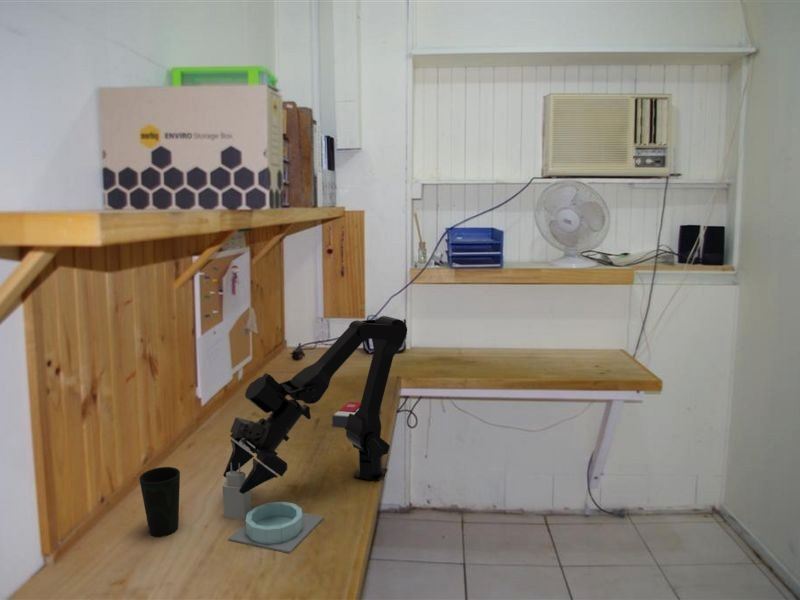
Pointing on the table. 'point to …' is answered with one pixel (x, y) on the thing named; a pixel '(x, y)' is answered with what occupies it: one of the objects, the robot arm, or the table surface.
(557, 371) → the table surface
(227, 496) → the power adapter
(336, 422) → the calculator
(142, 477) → the cup
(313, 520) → the mat
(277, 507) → the bowl
